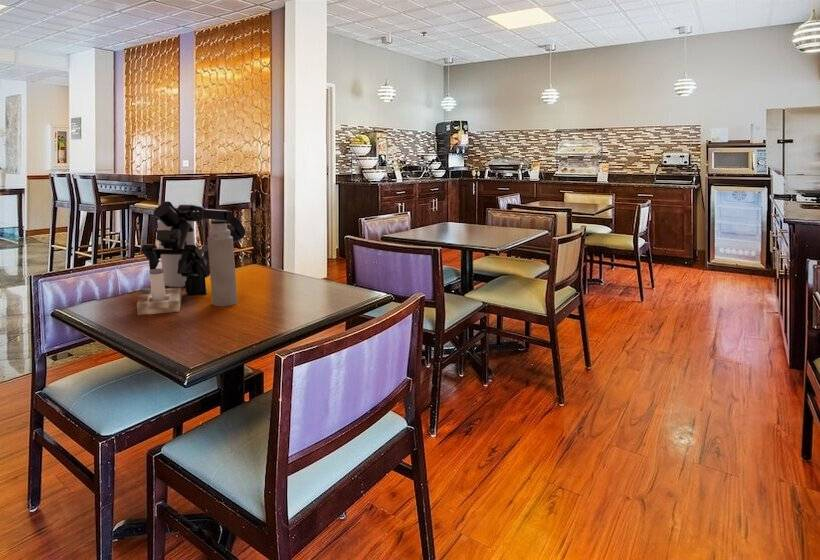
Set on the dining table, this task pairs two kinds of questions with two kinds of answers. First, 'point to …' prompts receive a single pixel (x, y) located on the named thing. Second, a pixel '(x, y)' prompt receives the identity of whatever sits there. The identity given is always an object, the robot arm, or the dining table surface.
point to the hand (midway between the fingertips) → (164, 273)
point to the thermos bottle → (222, 264)
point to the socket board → (159, 302)
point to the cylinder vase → (174, 260)
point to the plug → (157, 285)
